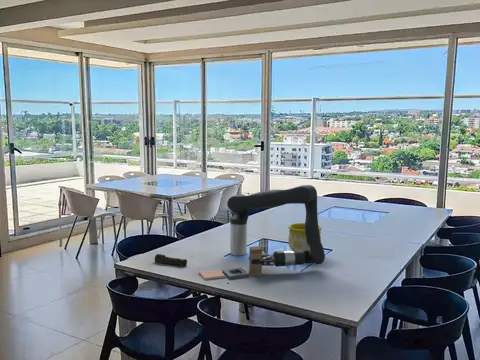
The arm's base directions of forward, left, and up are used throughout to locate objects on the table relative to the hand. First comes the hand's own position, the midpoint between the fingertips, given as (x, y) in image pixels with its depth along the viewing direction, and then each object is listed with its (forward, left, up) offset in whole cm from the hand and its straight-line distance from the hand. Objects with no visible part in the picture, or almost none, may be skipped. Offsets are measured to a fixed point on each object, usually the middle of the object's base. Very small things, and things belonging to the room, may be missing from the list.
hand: (250, 260), depth 219 cm
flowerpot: (-20, +41, -7) cm, 46 cm away
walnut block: (0, +3, -7) cm, 7 cm away
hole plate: (-2, -7, -7) cm, 10 cm away
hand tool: (-29, -33, -8) cm, 45 cm away
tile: (-5, -18, -7) cm, 20 cm away
